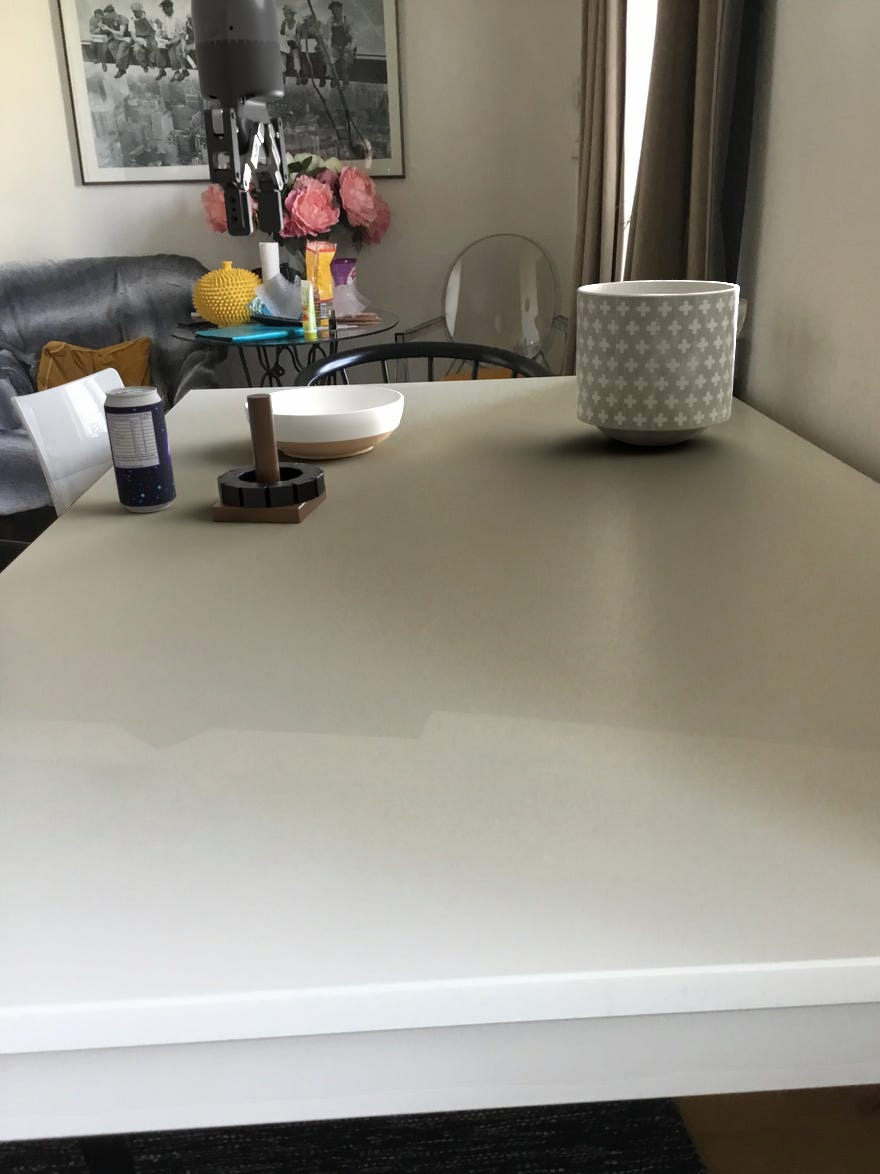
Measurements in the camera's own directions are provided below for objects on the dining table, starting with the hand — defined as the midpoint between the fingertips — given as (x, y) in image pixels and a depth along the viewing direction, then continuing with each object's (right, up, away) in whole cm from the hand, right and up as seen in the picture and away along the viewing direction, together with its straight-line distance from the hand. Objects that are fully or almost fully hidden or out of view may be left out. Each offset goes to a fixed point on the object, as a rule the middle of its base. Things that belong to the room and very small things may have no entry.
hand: (257, 234), depth 101 cm
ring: (0, -24, +6) cm, 25 cm away
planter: (+43, -14, +31) cm, 55 cm away
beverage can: (-13, -25, +9) cm, 30 cm away
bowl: (+2, -15, +31) cm, 35 cm away
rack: (0, -26, +6) cm, 26 cm away
